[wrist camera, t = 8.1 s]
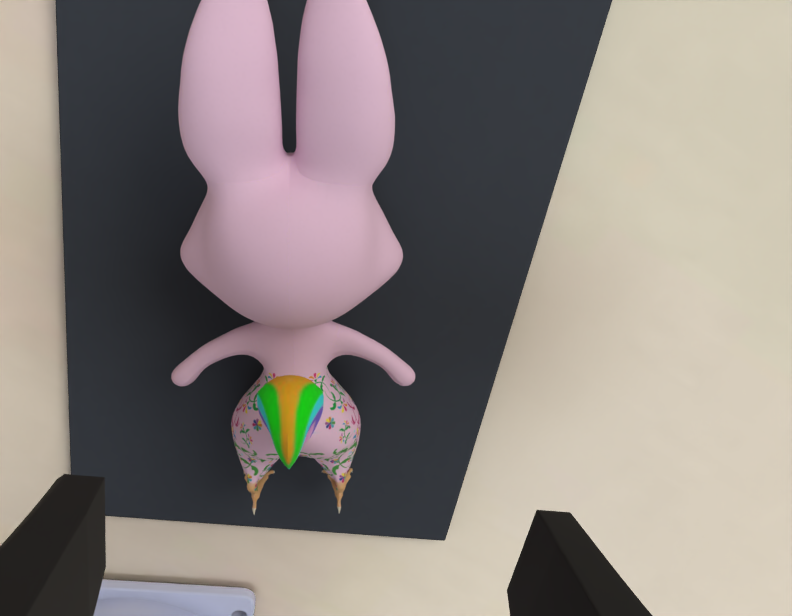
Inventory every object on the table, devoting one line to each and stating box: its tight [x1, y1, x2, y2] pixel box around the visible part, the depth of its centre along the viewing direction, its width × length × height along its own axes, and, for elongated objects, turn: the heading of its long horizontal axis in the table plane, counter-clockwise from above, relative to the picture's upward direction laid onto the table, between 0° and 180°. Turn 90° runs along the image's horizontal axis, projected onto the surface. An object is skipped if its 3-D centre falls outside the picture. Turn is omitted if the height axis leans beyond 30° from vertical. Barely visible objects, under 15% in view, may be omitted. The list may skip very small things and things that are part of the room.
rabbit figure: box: [171, 0, 415, 515], centre depth 17 cm, size 6×6×15 cm
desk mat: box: [56, 0, 612, 540], centre depth 20 cm, size 20×12×1 cm, turn 169°
